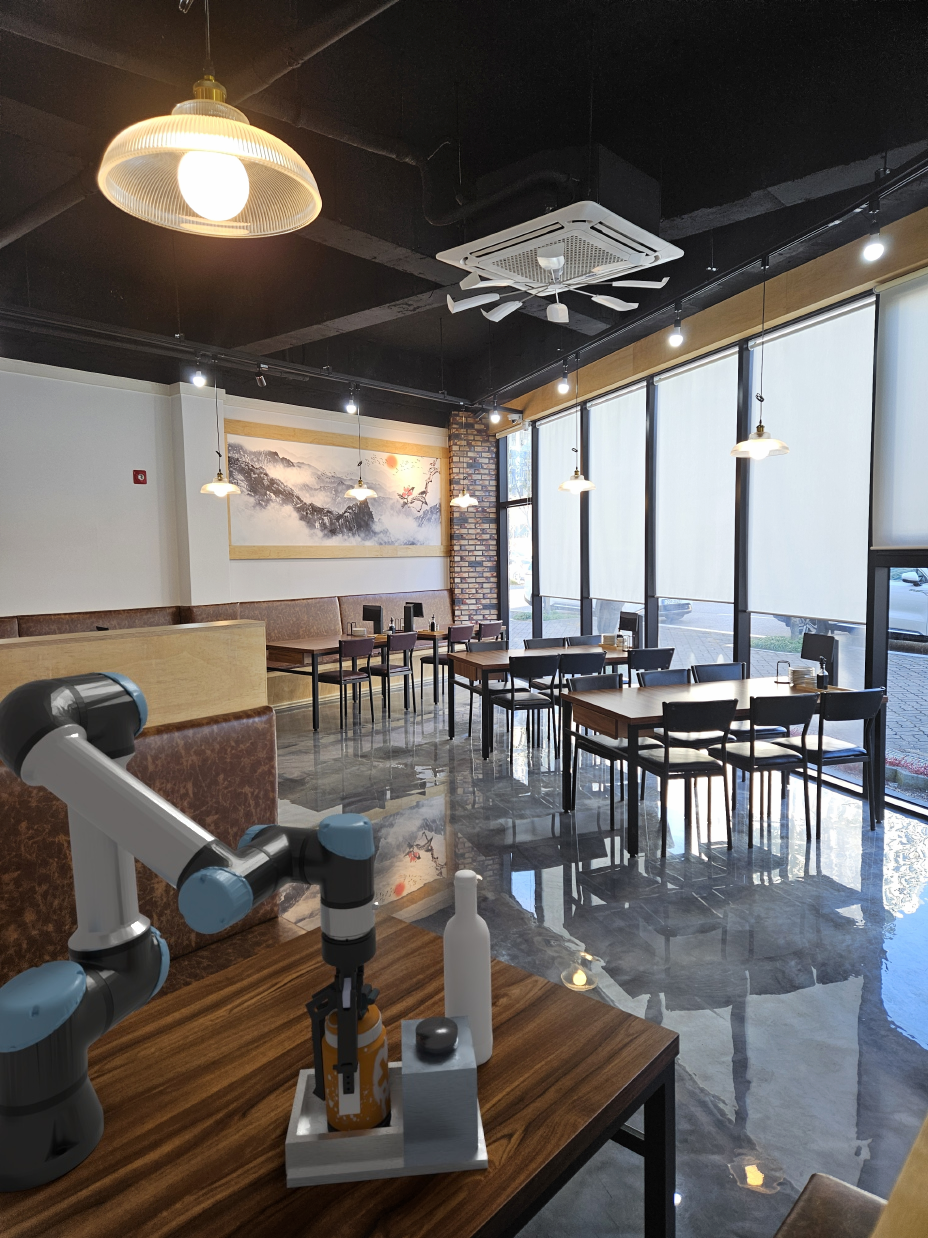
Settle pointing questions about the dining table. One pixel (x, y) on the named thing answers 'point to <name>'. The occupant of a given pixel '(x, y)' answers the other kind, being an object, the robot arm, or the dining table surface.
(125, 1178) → the dining table surface
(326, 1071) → the canister
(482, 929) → the bottle
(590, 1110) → the dining table surface
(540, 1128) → the dining table surface
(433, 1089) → the grey holder tray
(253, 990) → the dining table surface
